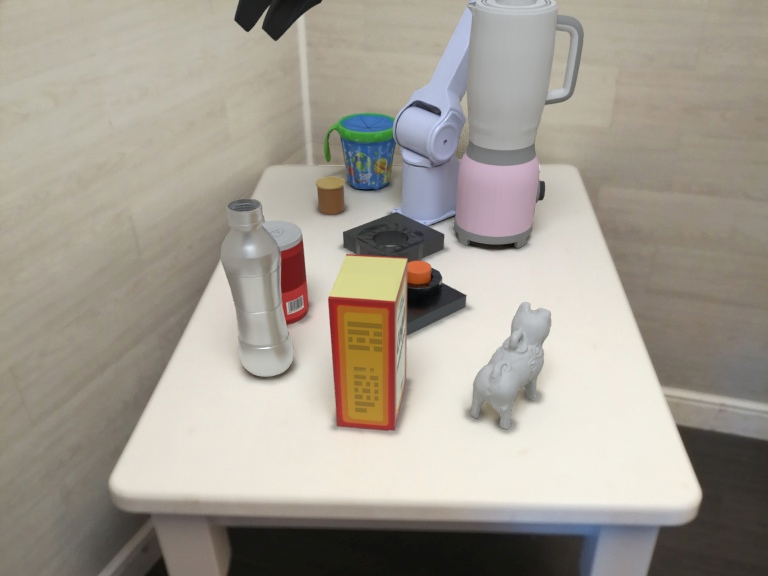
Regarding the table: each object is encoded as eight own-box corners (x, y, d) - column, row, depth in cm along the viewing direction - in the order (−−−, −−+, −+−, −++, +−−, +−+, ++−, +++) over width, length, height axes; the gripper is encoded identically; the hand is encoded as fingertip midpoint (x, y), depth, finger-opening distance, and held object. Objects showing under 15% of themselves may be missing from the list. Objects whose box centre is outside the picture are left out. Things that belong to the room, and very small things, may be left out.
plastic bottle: (287, 386, 86) (265, 220, 72) (233, 380, 87) (201, 215, 73) (302, 356, 91) (284, 195, 76) (250, 351, 92) (224, 190, 77)
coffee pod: (334, 201, 124) (332, 174, 121) (351, 209, 122) (350, 182, 119) (311, 208, 122) (309, 181, 119) (329, 217, 120) (327, 190, 116)
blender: (454, 252, 110) (470, -1, 88) (450, 218, 119) (464, -20, 96) (558, 252, 110) (601, -2, 87) (546, 218, 119) (583, -21, 96)
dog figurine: (552, 380, 87) (568, 298, 79) (506, 437, 79) (518, 353, 71) (512, 366, 89) (523, 286, 81) (463, 421, 81) (470, 338, 73)
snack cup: (418, 176, 132) (420, 115, 124) (403, 199, 125) (404, 136, 117) (337, 168, 135) (334, 108, 128) (318, 190, 128) (314, 128, 120)
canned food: (313, 298, 101) (307, 220, 93) (303, 328, 95) (295, 248, 87) (260, 296, 101) (248, 218, 94) (246, 326, 96) (233, 246, 88)
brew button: (418, 270, 100) (418, 258, 99) (436, 279, 98) (436, 267, 97) (398, 278, 98) (399, 266, 97) (416, 288, 96) (417, 275, 95)
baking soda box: (352, 377, 87) (346, 250, 76) (405, 381, 87) (407, 254, 75) (337, 426, 81) (327, 295, 69) (394, 431, 80) (394, 299, 69)
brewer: (416, 281, 104) (416, 258, 101) (465, 307, 99) (467, 284, 96) (357, 307, 99) (356, 283, 96) (406, 336, 94) (406, 312, 91)
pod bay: (396, 226, 117) (396, 211, 115) (446, 251, 111) (447, 235, 109) (337, 249, 111) (336, 233, 110) (387, 276, 105) (387, 260, 103)
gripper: (261, -110, 86) (204, -2, 89) (322, -108, 77) (256, 13, 80) (302, -61, 92) (247, 39, 95) (364, -54, 83) (301, 57, 86)
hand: (254, 30), depth 88 cm, fingers open, 7 cm apart
